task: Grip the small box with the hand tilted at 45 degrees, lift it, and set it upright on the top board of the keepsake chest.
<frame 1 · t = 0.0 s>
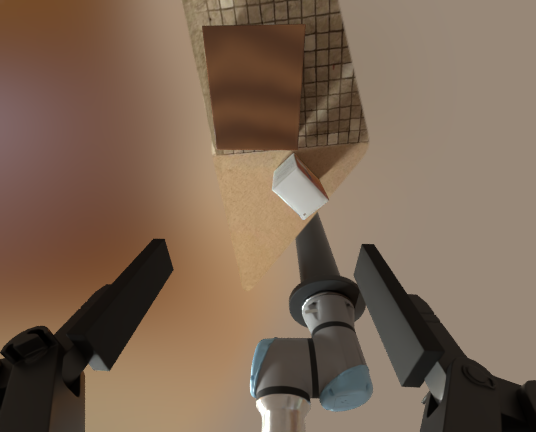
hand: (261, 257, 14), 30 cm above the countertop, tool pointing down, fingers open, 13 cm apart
keepsake chest: (261, 96, 36), on the countertop
small box: (296, 175, 43), on the countertop
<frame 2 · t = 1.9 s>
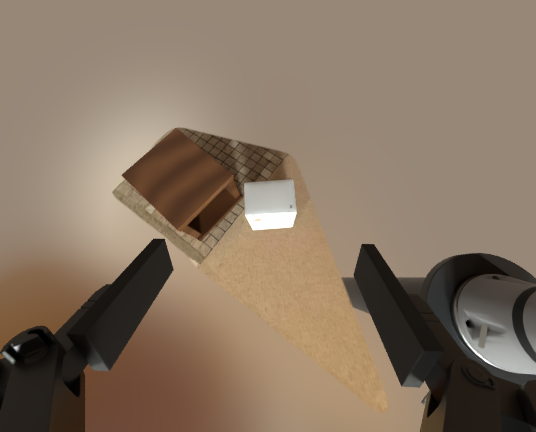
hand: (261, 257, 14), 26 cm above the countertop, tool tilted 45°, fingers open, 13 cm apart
keepsake chest: (198, 198, 43), on the countertop
small box: (271, 216, 42), on the countertop
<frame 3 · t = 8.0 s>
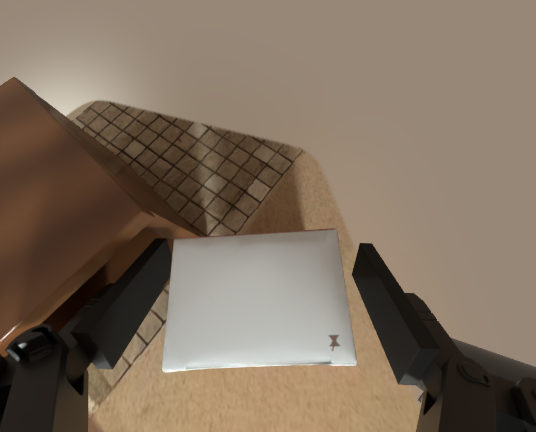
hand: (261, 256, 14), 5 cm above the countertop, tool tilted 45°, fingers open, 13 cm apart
keepsake chest: (116, 240, 21), on the countertop
small box: (268, 285, 19), on the countertop
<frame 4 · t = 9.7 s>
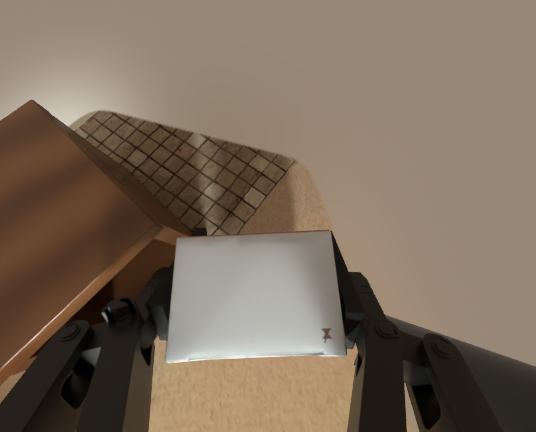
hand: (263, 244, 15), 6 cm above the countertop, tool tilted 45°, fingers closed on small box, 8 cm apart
keepsake chest: (121, 245, 22), on the countertop
small box: (263, 283, 20), point 1 cm above the countertop, touching gripper
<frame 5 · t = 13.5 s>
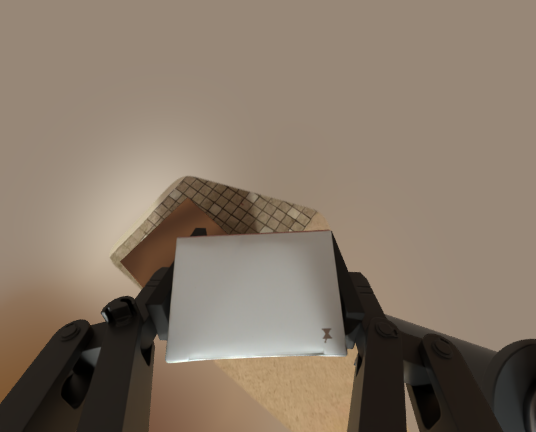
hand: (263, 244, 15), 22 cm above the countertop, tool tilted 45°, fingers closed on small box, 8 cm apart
keepsake chest: (212, 266, 37), on the countertop
small box: (263, 283, 20), point 17 cm above the countertop, touching gripper
when the fingers open (15 cm above the countertop, at t = 17.6 s): small box stays where it is, resting on keepsake chest.
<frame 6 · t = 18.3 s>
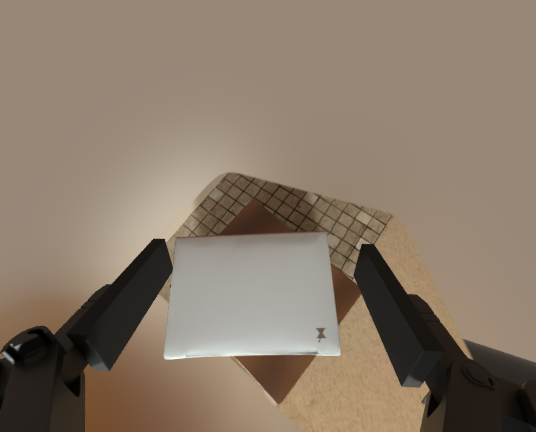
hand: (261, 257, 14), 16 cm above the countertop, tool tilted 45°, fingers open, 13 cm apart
keepsake chest: (268, 284, 29), on the countertop
small box: (263, 283, 20), point 10 cm above the countertop, touching keepsake chest
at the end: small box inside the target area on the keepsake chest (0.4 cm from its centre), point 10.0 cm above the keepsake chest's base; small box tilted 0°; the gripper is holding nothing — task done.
